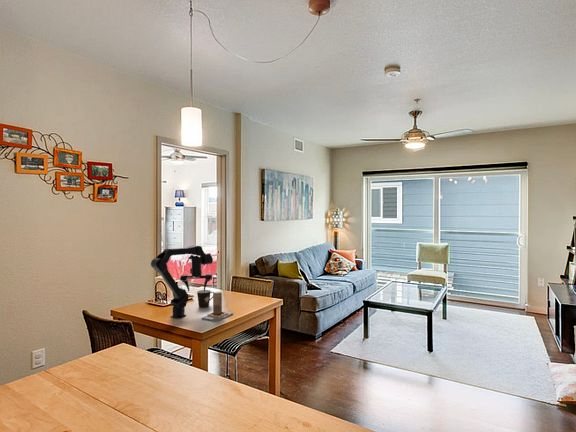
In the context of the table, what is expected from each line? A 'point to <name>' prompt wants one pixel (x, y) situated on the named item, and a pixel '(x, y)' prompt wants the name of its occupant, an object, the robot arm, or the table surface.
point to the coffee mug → (204, 298)
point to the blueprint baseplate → (217, 318)
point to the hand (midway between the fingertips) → (196, 291)
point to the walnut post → (217, 303)
